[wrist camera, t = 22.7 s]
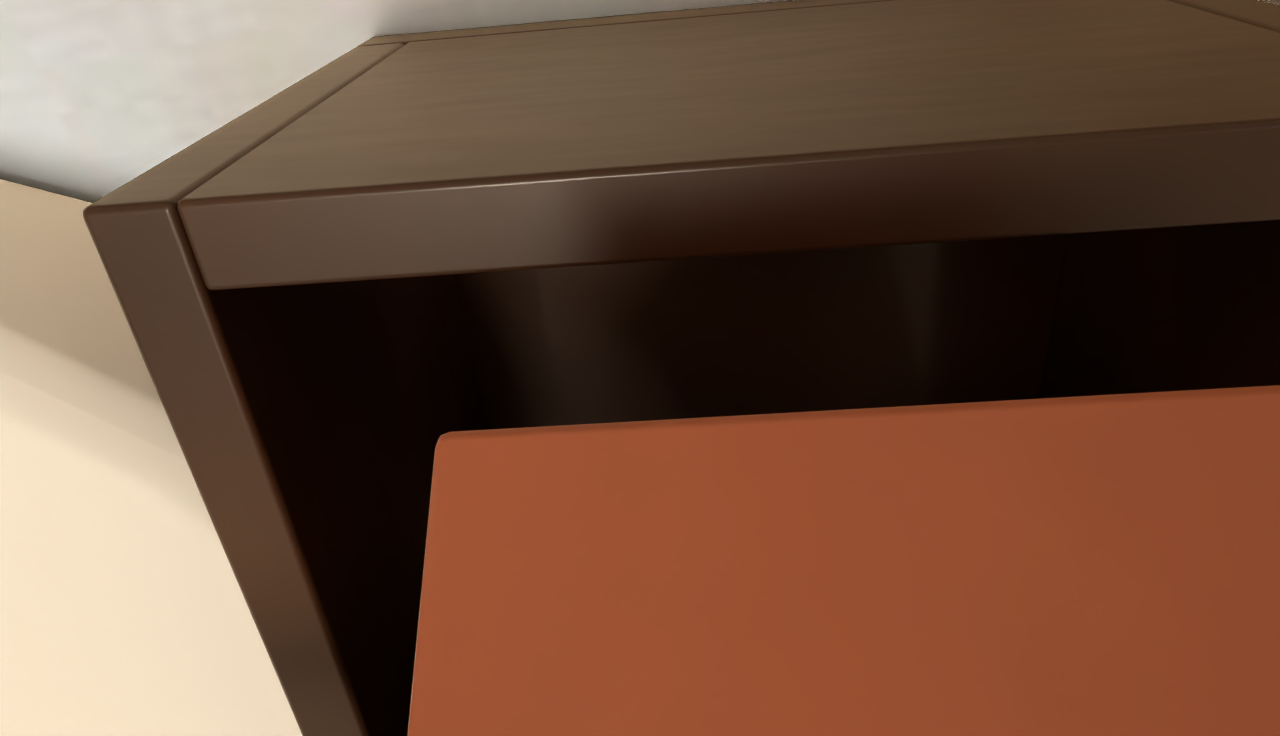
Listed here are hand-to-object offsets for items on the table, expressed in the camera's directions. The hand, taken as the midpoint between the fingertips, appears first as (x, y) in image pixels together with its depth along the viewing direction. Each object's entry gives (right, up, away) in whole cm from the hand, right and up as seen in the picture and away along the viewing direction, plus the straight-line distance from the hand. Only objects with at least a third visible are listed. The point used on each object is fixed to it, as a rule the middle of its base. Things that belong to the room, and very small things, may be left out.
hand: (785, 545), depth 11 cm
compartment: (0, +1, +6) cm, 6 cm away
